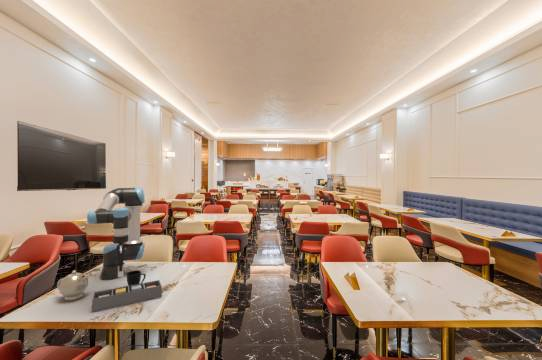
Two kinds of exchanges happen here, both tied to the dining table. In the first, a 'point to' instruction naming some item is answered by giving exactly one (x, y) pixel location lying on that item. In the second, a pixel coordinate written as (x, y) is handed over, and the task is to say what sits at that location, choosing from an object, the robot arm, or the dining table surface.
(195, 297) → the dining table surface
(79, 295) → the teapot
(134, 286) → the key
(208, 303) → the dining table surface
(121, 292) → the key
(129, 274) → the mug
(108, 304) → the compartment tray
